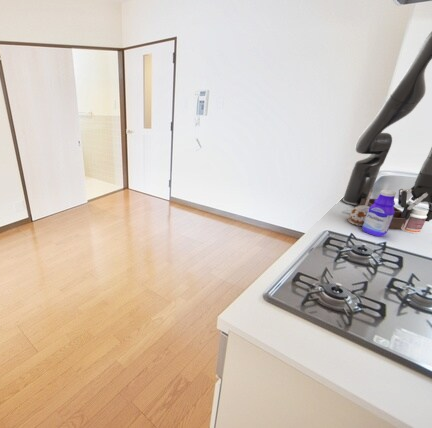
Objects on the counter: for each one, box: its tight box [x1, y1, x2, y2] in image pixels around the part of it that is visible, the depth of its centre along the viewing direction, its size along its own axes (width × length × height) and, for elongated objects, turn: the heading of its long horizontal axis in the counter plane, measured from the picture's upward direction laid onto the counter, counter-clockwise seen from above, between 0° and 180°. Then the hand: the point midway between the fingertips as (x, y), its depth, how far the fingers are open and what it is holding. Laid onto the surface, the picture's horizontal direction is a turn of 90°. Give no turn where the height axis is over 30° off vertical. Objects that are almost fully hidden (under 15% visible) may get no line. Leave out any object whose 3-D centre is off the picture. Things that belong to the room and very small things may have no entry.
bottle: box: [362, 189, 397, 237], centre depth 106 cm, size 7×6×17 cm
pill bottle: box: [401, 206, 429, 234], centre depth 96 cm, size 5×5×8 cm
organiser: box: [359, 198, 405, 231], centre depth 120 cm, size 21×8×5 cm, turn 167°
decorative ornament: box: [347, 189, 374, 227], centre depth 114 cm, size 8×8×15 cm
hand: (415, 219), depth 96 cm, fingers closed on pill bottle, 4 cm apart
